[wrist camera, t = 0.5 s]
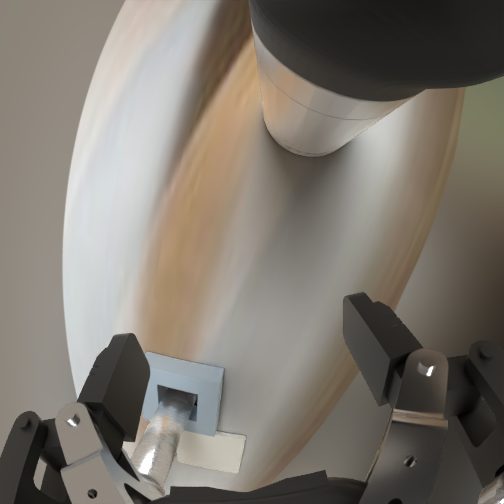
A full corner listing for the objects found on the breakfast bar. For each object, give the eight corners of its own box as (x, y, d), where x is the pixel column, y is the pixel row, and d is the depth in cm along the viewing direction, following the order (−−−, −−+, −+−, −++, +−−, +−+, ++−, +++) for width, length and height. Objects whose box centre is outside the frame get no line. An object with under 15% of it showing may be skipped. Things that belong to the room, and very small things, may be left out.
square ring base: (101, 337, 32) (89, 347, 29) (224, 368, 31) (220, 382, 28) (109, 392, 34) (100, 403, 31) (218, 422, 33) (214, 436, 30)
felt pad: (177, 422, 34) (175, 425, 33) (246, 435, 33) (245, 439, 33) (178, 458, 36) (177, 461, 35) (238, 470, 35) (237, 473, 35)
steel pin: (166, 372, 32) (109, 471, 15) (201, 380, 32) (159, 489, 15) (167, 398, 33) (119, 493, 16) (200, 405, 33) (164, 508, 16)
